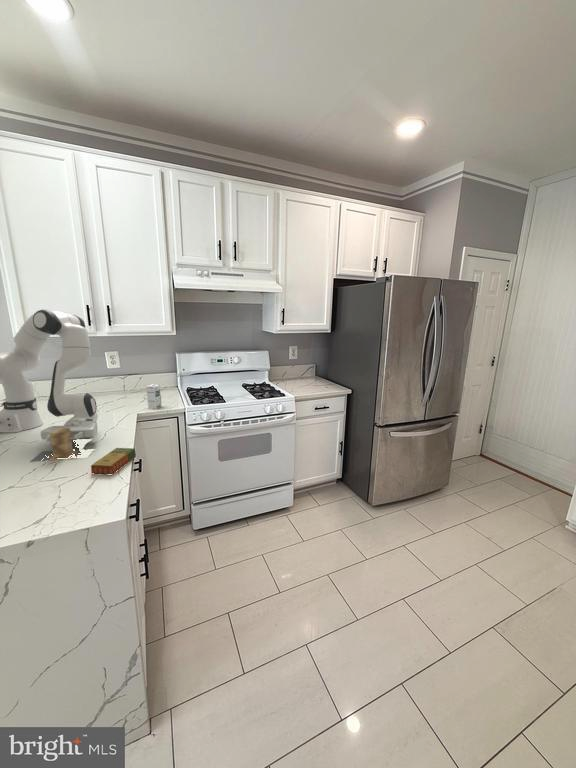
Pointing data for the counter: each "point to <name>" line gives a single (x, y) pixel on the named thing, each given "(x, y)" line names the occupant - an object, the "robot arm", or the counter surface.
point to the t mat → (48, 453)
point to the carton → (113, 461)
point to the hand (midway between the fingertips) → (61, 438)
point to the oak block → (61, 443)
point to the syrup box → (153, 396)
